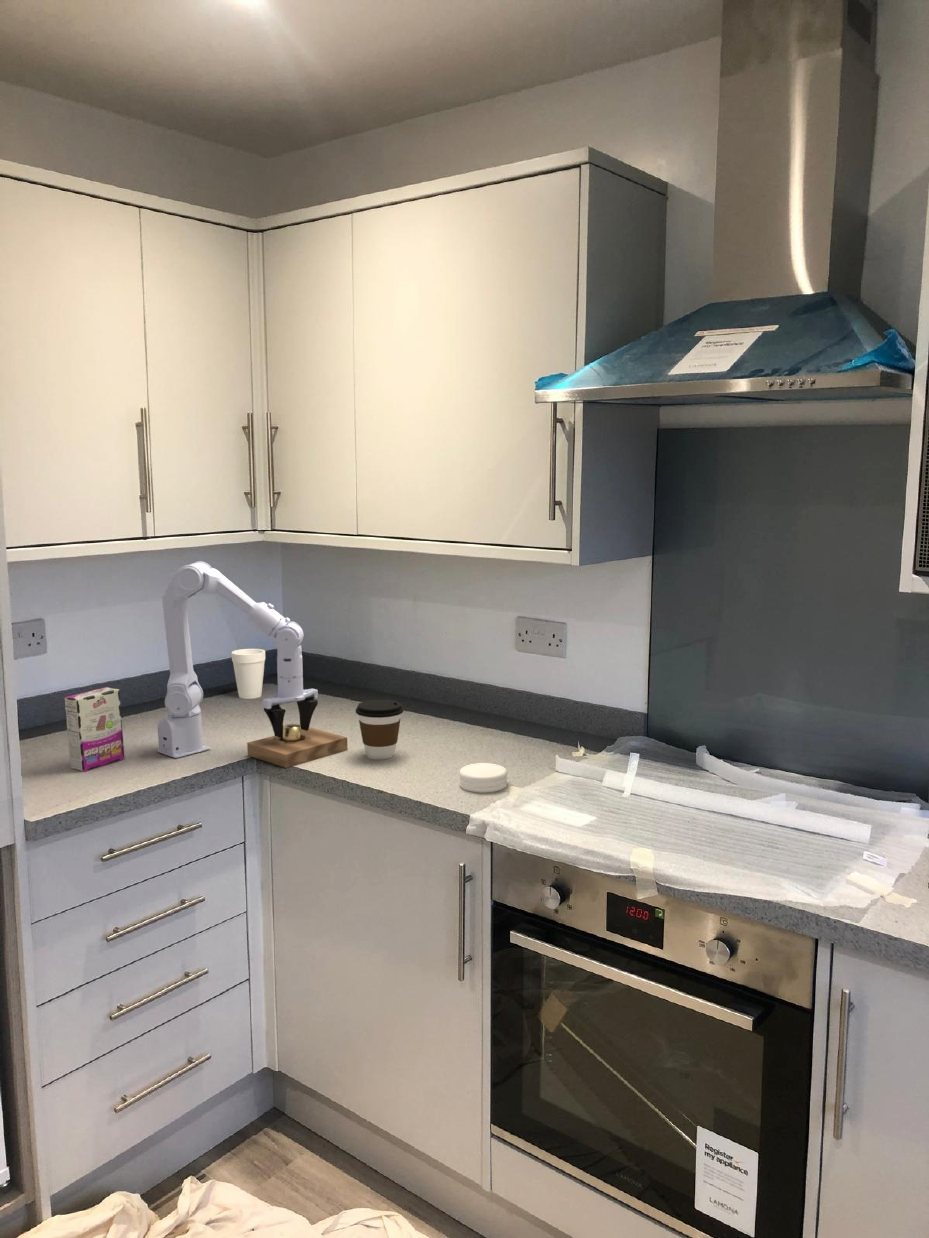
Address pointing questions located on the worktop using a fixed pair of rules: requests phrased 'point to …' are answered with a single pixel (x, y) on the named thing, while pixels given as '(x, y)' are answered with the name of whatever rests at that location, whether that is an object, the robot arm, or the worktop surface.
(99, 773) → the worktop surface
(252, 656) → the foam cup
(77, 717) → the candy bar box
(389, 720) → the coffee cup
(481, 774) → the white round disc
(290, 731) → the bushing
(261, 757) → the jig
